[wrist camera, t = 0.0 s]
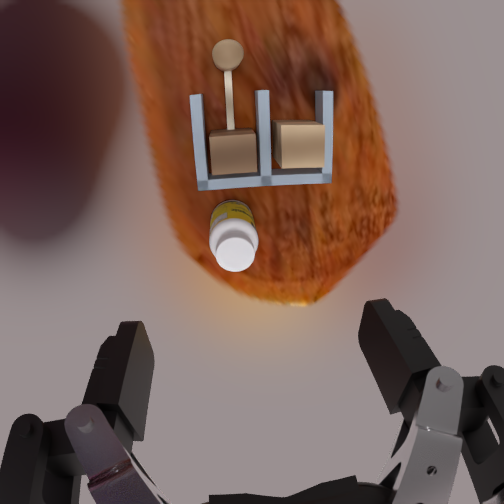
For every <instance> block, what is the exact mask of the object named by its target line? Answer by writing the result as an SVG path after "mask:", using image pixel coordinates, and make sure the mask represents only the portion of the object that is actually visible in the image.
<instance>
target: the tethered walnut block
mask: <svg viewBox="0 0 504 504" xmlns="http://www.w3.org/2000/svg"><path fill="white" fill-rule="evenodd" d="M243 55H244V51H243V48H242V46H241V45H240V44H239V43H238V42H237V41H235V40H231V39H226V40H222V41H220V42H218V43H217V44H216V45H215V46H214V48H213V51H212V56H213V60H214V64H215V66H216V67H217V68H218V69H219V70H221V71H224V78H225V96H226V113H227V129H222V130H211V133H210V136H209V142H210V154H211V166H212V175H222V174H235V173H249V172H257V155H256V134H255V133H254V131H253V130H252V129H251V128H236V129H234V111H233V92H232V73H231V71H233V70H235V69H236V68H237V67H238V66H239V64H240V62H241V60H242V58H243Z"/></svg>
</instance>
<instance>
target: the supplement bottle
mask: <svg viewBox="0 0 504 504" xmlns="http://www.w3.org/2000/svg"><path fill="white" fill-rule="evenodd" d="M209 243H210V249H211V251H212V253H213V255H214V256H215V257H216V260H217V262H218V264H219V265H220V266H221V267H222V268H224V269H225V270H228V271H232V272H237V271H242V270H244V269H246V268H248V267H249V266H250V265H251V264H252V262H253V260H254V257H255V252H256V250H257V247H258V234H257V231H256V227H255V223H254V219H253V215H252V213H251V210H250V209H249V208H248V206H247V205H245V204H244V203H242V202H240V201H237V200H228V201H224V202H222V203H220V204H219V205H218V206H217V207H216V208H215V209H214V211H213V213H212V215H211V223H210V238H209Z"/></svg>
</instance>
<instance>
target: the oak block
mask: <svg viewBox="0 0 504 504" xmlns="http://www.w3.org/2000/svg"><path fill="white" fill-rule="evenodd" d="M272 132H273V158H274V159H275V160H276V161H277V163H278V164H279V165H280V167H281V168H282V169H285V168H317V167H324V162H325V125H323V124H320V123H318V122H315V121H312V120H272Z"/></svg>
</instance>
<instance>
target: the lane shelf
mask: <svg viewBox="0 0 504 504" xmlns="http://www.w3.org/2000/svg"><path fill="white" fill-rule="evenodd" d="M190 106H191V119H192V131H193V143H194V154H195V164H196V174H197V184H198V191H204V190H216V189H228V188H241V187H256V186H273V185H292V184H317V183H331V181H332V152H333V91H315V115H316V122H318V123H320V124H323V125H325V162H324V167H317V168H285V169H271V138H270V107H269V90H257V91H255V106H256V130H257V155H258V170H257V172H249V173H235V174H222V175H212V173H209V170H208V158H207V146H206V134H205V120H204V106H203V94H197V95H190Z"/></svg>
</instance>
